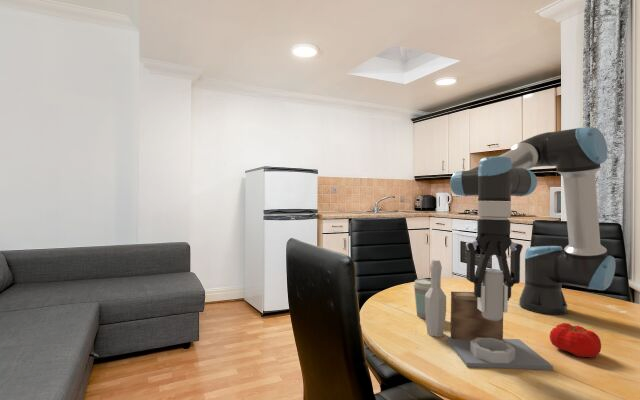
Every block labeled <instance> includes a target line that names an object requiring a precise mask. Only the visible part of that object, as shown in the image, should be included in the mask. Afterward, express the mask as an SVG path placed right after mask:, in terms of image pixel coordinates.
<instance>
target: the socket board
mask: <svg viewBox="0 0 640 400" xmlns="http://www.w3.org/2000/svg"><path fill="white" fill-rule="evenodd" d="M446 341H447V343H448V344H449V345H450V347H451V348H452V349H453V351H454V352H455V354H456V355H457V356H458V357H459V358H460V360H461V361H462V362H463V363H464V365H465V366H466V368H490V369H517V370H519V369H521V370H545V371H548V370H550V371H553V369H554V365H552V363H550V362H549V361H548V360H546V359H545V358H544V357H542V356H541V355H540V354H539V353H538V352H536V351H535V350H534V349H532V348H531V347H530V346H529V345H527V344H526V343H525V342H523V341H522V340H521V339H519V338H503V340H498V339H494V338H479V337H477V338H475V339H452V338H451V336H447V337H446Z"/></svg>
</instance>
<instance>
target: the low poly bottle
mask: <svg viewBox="0 0 640 400" xmlns="http://www.w3.org/2000/svg"><path fill="white" fill-rule="evenodd" d="M442 268H443V267H442V263H441V260H440V259H431V264H430V266H429V270H430V280H431V288H430V289H429V290H428V291H427V293H426V294H425V316H426V319H425V324H426V333H427V335H429V336H432V337H435V338H438V337H443V336H444V330H445V322H446V316H447V315H446V314H447V295H446V294H445V292H444V291H443V289H442V288H441V287H442V286H441V283H442V282H441V281H442V280H441V277H442V270H443V269H442Z"/></svg>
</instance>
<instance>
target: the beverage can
mask: <svg viewBox="0 0 640 400" xmlns="http://www.w3.org/2000/svg"><path fill="white" fill-rule="evenodd" d="M503 281H504V274H503V271H501V270H500V269H495V268H486V271H485V274H484V278H483V282H482V284H483V285H485V312H482V316H483V317H484V318H486V319H488V320H494V321H499V320H501V319H502V318H503V319H504V312H503V284H504V283H503Z"/></svg>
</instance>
